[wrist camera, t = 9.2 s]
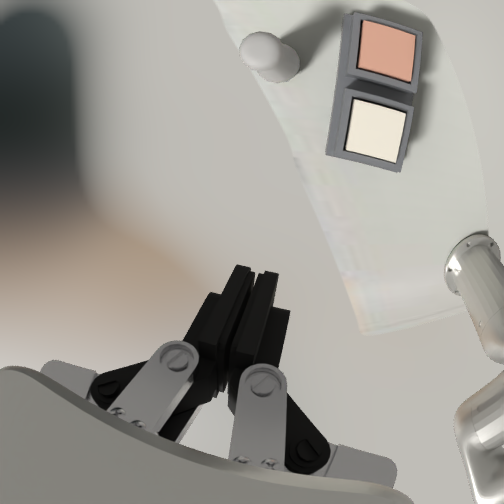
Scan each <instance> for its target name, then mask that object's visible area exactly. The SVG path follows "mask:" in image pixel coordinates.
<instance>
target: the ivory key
mask: <svg viewBox="0 0 504 504" xmlns="http://www.w3.org/2000/svg"><path fill="white" fill-rule="evenodd" d="M405 116H406V114H405V113H402V112H399V111H396V110H392V109H389V108H386V107H382V106H379V105H375V104H371V103H367V102H363V101H359V100H355V99H352V101H351V107H350V113H349V120H348V126H347V131H346V137H345V143H344V146H345V148H346V150H348V151H353V152H357V153H361V154H365V155H369V156H373V157H376V158H380V159H384V160H387V161H391V162H394V163H396V159H397V155H398V150H399V146H400V141H401V137H402V132H403V127H404V121H405Z"/></svg>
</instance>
